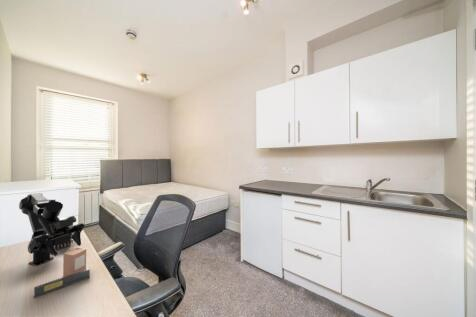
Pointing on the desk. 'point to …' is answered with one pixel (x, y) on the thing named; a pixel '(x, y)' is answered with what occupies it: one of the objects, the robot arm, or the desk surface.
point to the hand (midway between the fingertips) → (69, 249)
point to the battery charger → (63, 241)
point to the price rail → (61, 283)
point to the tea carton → (74, 261)
